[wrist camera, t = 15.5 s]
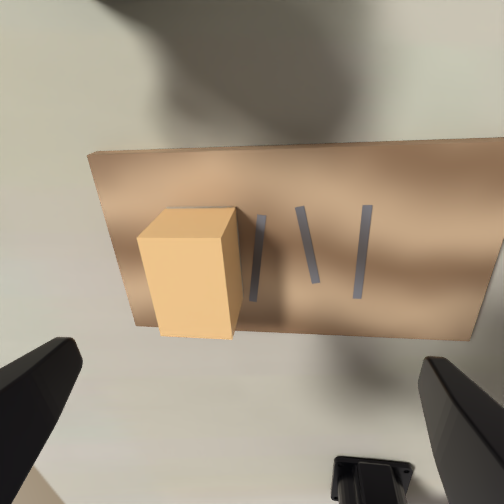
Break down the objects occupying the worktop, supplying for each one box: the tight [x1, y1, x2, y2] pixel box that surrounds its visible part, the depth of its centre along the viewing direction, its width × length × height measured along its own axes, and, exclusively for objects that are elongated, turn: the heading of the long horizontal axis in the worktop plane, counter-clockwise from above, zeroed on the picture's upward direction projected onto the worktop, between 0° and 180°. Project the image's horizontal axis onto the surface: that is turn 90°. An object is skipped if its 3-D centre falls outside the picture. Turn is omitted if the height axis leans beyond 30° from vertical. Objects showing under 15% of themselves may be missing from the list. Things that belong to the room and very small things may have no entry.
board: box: [87, 137, 504, 341], centre depth 20 cm, size 12×22×1 cm, turn 93°
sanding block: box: [137, 206, 244, 340], centre depth 18 cm, size 6×4×4 cm, turn 3°
